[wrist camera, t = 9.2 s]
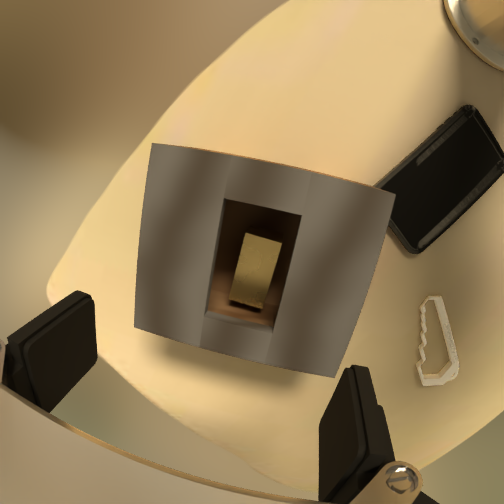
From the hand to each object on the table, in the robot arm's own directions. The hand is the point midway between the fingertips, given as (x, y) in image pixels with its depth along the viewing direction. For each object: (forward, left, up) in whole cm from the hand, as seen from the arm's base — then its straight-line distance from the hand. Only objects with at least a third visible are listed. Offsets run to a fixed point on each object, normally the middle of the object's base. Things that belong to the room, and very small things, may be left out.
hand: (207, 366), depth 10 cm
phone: (-15, -10, -21) cm, 27 cm away
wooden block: (0, +2, -19) cm, 20 cm away
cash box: (0, 0, -20) cm, 20 cm away
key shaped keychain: (-21, +8, -21) cm, 30 cm away
